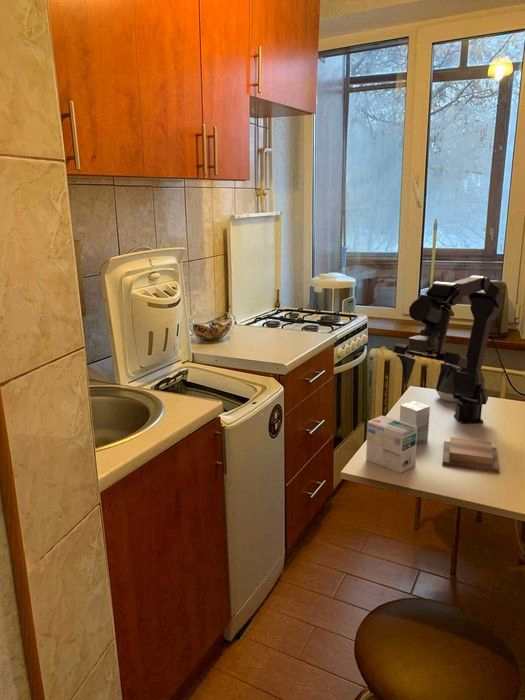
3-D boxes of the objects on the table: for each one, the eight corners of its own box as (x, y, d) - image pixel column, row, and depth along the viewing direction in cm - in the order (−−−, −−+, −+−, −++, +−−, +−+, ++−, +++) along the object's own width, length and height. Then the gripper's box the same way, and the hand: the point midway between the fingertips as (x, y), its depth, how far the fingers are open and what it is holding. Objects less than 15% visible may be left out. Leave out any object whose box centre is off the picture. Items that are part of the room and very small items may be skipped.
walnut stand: (444, 444, 146) (444, 434, 146) (495, 451, 142) (497, 440, 141) (442, 465, 134) (443, 454, 134) (498, 473, 130) (500, 461, 129)
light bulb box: (416, 465, 135) (418, 425, 132) (401, 474, 130) (403, 432, 127) (380, 452, 142) (382, 414, 140) (364, 460, 138) (366, 420, 135)
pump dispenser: (465, 406, 174) (468, 361, 171) (432, 401, 179) (435, 357, 176) (470, 397, 183) (474, 354, 179) (438, 392, 188) (441, 350, 184)
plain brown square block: (411, 434, 154) (413, 400, 151) (427, 440, 149) (429, 406, 147) (398, 438, 150) (400, 405, 148) (414, 445, 146) (416, 410, 144)
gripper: (389, 317, 142) (374, 375, 141) (456, 327, 128) (440, 391, 128) (410, 326, 149) (396, 381, 149) (475, 337, 136) (460, 397, 136)
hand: (421, 387), depth 141 cm, fingers open, 9 cm apart
